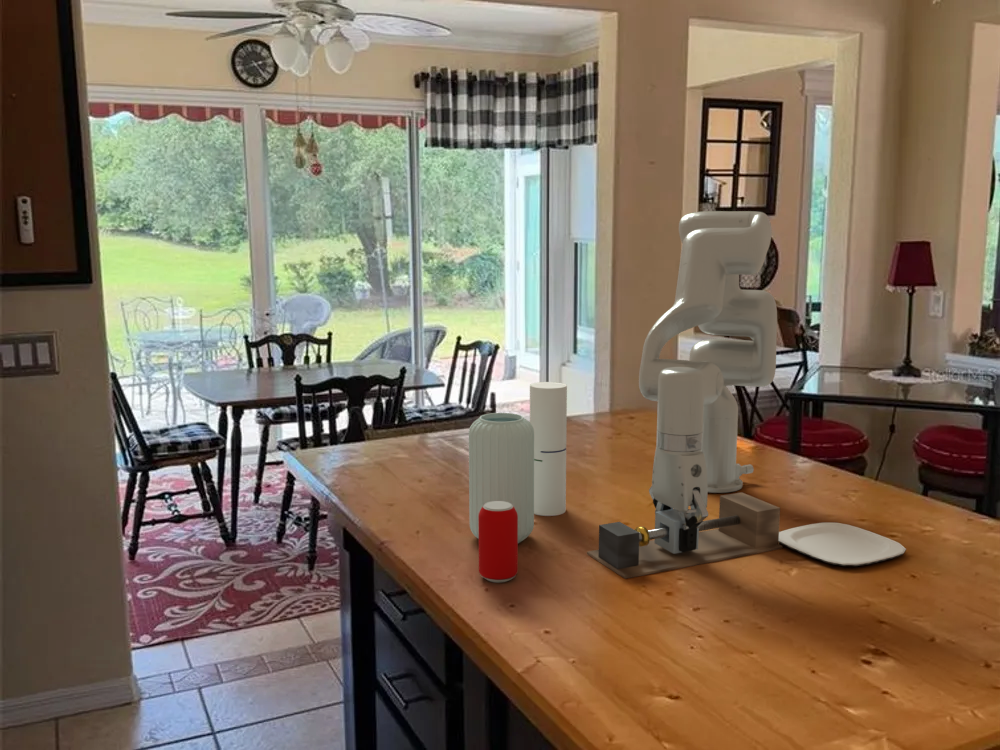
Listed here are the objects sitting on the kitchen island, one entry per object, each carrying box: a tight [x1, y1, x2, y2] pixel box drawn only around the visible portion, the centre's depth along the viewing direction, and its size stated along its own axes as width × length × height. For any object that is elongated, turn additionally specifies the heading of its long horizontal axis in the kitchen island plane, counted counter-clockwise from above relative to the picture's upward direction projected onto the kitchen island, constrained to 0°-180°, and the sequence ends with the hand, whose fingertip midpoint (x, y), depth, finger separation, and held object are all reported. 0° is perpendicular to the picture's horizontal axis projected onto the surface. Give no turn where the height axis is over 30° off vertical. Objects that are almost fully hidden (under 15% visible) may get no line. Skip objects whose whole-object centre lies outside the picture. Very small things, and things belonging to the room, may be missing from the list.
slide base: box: [586, 492, 783, 579], centre depth 153 cm, size 32×12×7 cm, turn 115°
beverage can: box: [478, 501, 519, 584], centre depth 141 cm, size 6×6×12 cm
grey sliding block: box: [654, 509, 700, 554], centre depth 152 cm, size 5×6×6 cm
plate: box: [778, 522, 907, 567], centre depth 155 cm, size 18×18×2 cm
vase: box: [468, 412, 535, 544], centre depth 158 cm, size 12×12×22 cm
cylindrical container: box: [529, 381, 568, 517], centre depth 174 cm, size 7×7×25 cm
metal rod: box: [634, 515, 740, 547], centre depth 152 cm, size 26×3×3 cm, turn 115°
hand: (676, 543), depth 153 cm, fingers closed on grey sliding block, 5 cm apart
